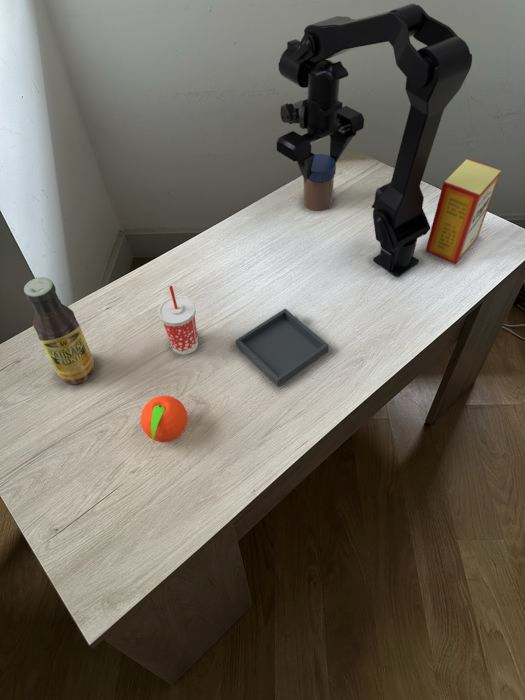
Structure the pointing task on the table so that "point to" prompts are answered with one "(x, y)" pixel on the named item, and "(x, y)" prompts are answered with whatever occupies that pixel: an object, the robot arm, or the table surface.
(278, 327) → the tray
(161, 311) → the beverage cup
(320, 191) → the jar
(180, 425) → the clementine
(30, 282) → the sauce bottle
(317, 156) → the lid
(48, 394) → the table surface
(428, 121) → the robot arm
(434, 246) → the baking soda box
